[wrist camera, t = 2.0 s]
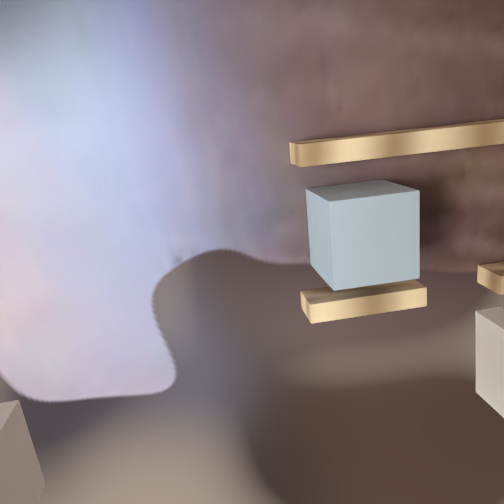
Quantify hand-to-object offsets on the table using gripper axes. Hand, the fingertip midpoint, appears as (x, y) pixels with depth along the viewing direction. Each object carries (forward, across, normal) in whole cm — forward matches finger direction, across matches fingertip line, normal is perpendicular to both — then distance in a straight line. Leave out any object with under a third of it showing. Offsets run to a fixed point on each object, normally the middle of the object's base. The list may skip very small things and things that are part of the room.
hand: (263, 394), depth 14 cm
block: (+23, +10, -1) cm, 25 cm away
